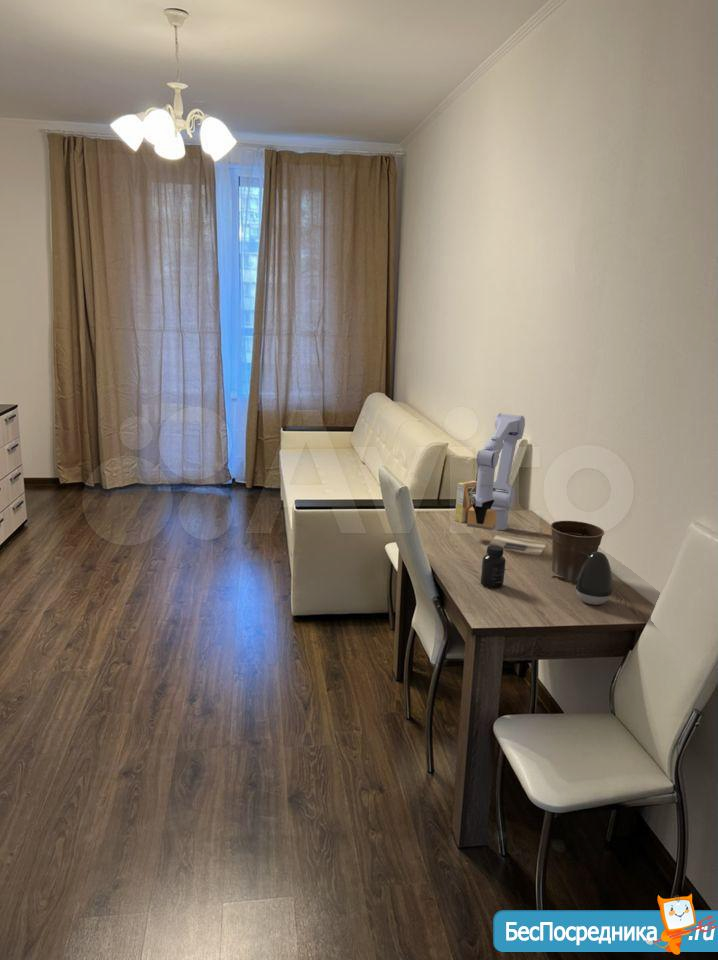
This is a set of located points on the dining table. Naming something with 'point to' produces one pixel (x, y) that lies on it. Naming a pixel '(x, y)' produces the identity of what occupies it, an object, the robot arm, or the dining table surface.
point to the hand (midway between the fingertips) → (481, 521)
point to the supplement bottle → (493, 567)
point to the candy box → (464, 499)
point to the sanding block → (488, 521)
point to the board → (532, 545)
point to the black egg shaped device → (594, 579)
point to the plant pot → (572, 547)
